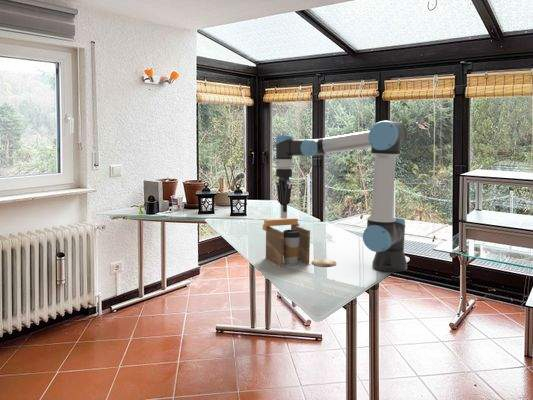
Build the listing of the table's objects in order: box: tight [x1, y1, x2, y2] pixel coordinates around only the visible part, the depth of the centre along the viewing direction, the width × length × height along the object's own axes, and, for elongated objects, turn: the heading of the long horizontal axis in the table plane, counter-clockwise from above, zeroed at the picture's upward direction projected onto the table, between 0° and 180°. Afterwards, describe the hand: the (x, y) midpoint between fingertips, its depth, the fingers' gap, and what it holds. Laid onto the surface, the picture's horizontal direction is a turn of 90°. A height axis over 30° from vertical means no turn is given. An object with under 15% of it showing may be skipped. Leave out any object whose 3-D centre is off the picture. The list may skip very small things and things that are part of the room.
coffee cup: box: [282, 229, 300, 266], centre depth 231 cm, size 8×8×15 cm
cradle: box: [265, 225, 311, 268], centre depth 235 cm, size 14×17×16 cm
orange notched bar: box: [262, 217, 300, 232], centre depth 240 cm, size 18×3×5 cm, turn 113°
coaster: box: [311, 258, 337, 268], centre depth 232 cm, size 11×11×1 cm
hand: (283, 218), depth 237 cm, fingers closed
